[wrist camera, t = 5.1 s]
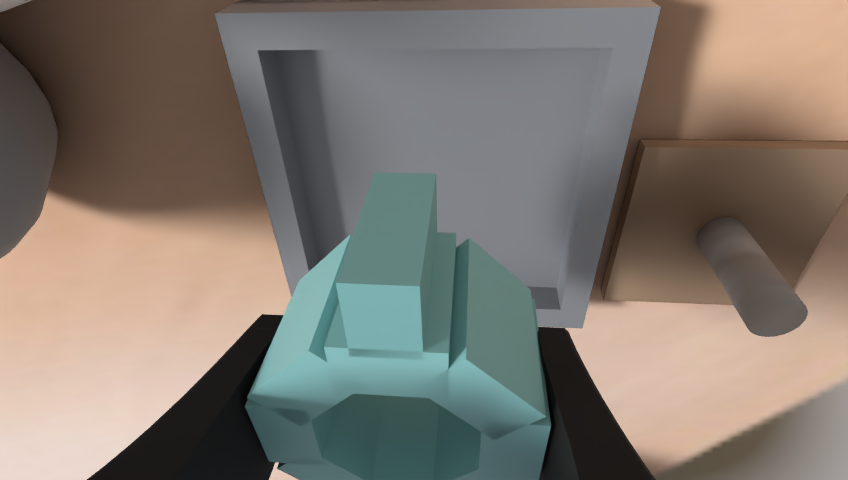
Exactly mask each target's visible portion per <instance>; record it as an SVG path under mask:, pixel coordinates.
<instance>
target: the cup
mask: <svg viewBox="0 0 848 480" xmlns="http://www.w3.org/2000/svg"><path fill="white" fill-rule="evenodd" d="M57 139H58V129H57V126H56V123H55V120H54V117H53V114H52V110H51V107H50V104H49V102H48V100H47V99H46V97H45V96H44V94H43V93H42V91H41V90H40V88H39V86H38V85H37V83H36V82H35V80H34V79H33V77H32V76H31V74H30V73H29V71H28V70H27V69H26V68H25V67H24V66H23V65H22V64H21V63H20V62H19V61H18V60H17V59H16V58H15V57H14V56H13V55H12V54H11V53H10V52H9V51H8V50H7V49H6V48H5V47H4V46H3V45H2V44H1V43H0V258H2V257H3V256H5V255H6V254H8V253H9V252H10V251H11V250H12V249H13V248H14V247H15V246H16V245H17V244H18V243H19V242H20V240H21V239H22V238H23V237H24V236H25V234H26V233H27V232H28V231H29V230H30V228H31V227H32V226H33V225H34V224H35V222H36V221H37V219H38V218H39V216H40V214H41V211H42V209H43V205H44V201H45V197H46V193H47V190H48V186H49V182H50V178H51V174H52V170H53V167H54V162H55V157H56V150H57Z"/></svg>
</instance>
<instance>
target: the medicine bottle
mask: <svg viewBox="0 0 848 480" xmlns="http://www.w3.org/2000/svg"><path fill="white" fill-rule="evenodd" d="M30 1H32V0H0V13H1V12H3V11H6V10H9V9H11V8H14V7H16V6H19V5H22V4H24V3H27V2H30Z"/></svg>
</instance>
